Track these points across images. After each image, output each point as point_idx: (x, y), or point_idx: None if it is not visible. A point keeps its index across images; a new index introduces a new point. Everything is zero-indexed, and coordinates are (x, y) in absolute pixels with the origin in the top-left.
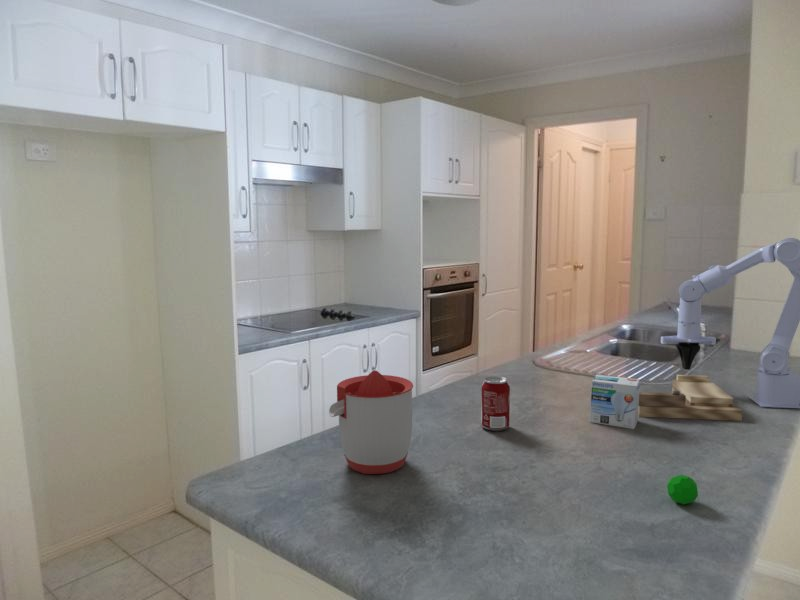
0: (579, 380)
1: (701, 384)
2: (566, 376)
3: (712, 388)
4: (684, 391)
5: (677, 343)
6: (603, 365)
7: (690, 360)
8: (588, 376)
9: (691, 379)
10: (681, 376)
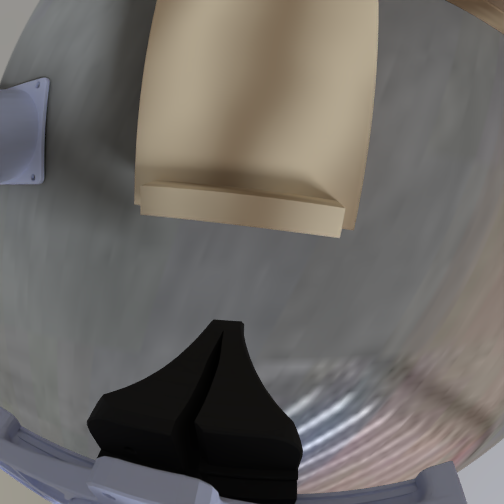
0: (501, 362)
1: (219, 121)
2: (499, 386)
3: (192, 42)
4: (377, 8)
5: (307, 496)
6: (360, 471)
7: (204, 351)
8: (460, 399)
9: (253, 191)
10: (321, 203)
